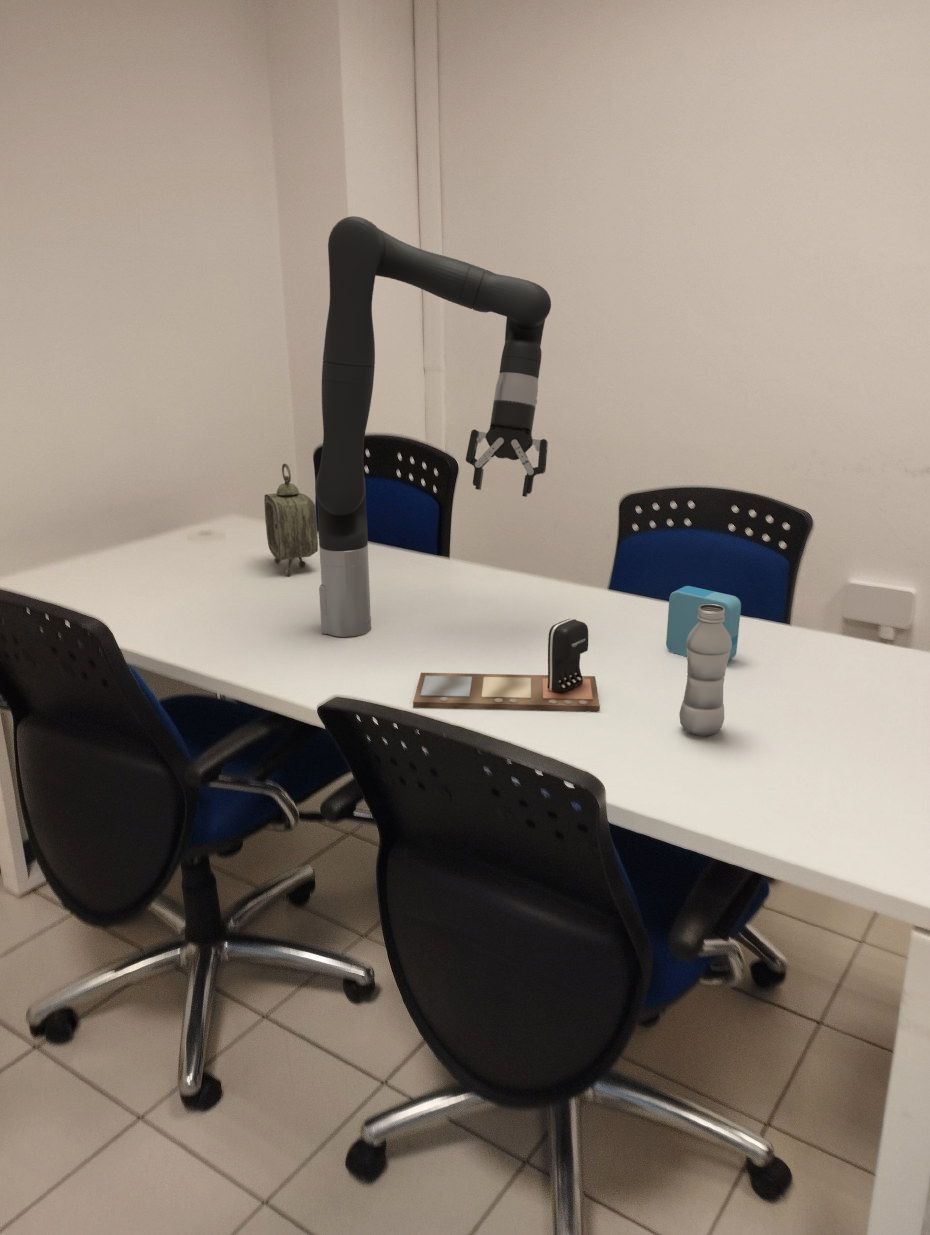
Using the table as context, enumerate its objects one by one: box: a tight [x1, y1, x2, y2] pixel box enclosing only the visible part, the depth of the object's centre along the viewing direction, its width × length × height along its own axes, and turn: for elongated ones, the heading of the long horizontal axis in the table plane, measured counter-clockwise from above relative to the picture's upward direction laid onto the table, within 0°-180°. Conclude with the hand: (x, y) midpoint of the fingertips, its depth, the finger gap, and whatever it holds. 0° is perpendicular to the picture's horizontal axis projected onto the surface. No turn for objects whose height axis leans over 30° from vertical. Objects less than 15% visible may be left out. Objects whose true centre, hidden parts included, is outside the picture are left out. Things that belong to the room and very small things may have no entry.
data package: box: [665, 585, 742, 661], centre depth 174 cm, size 12×4×12 cm, turn 49°
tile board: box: [412, 672, 601, 713], centre depth 160 cm, size 30×12×1 cm, turn 86°
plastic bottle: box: [679, 604, 732, 736], centre depth 144 cm, size 6×7×20 cm
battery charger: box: [547, 618, 589, 693], centre depth 158 cm, size 7×4×11 cm, turn 136°
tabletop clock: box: [264, 463, 319, 577], centre depth 224 cm, size 14×9×25 cm, turn 23°
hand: (501, 493), depth 173 cm, fingers open, 8 cm apart
